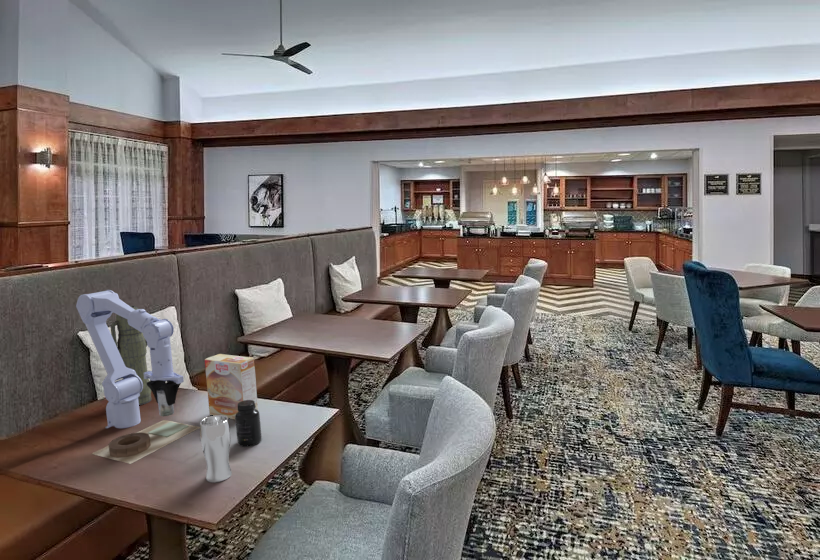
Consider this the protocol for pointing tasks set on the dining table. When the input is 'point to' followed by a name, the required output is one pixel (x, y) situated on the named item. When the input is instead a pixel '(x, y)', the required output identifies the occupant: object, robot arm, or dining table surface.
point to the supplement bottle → (248, 424)
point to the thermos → (132, 352)
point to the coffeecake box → (229, 383)
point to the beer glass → (216, 447)
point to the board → (153, 442)
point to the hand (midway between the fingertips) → (166, 403)
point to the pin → (164, 403)
